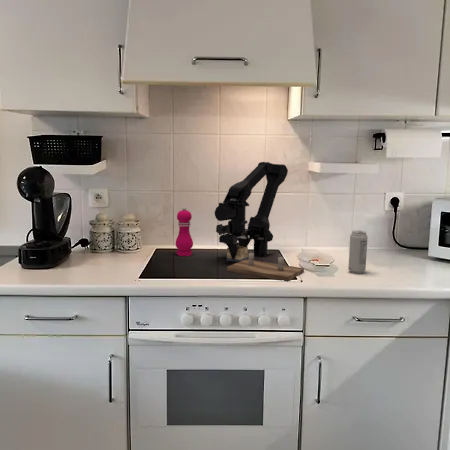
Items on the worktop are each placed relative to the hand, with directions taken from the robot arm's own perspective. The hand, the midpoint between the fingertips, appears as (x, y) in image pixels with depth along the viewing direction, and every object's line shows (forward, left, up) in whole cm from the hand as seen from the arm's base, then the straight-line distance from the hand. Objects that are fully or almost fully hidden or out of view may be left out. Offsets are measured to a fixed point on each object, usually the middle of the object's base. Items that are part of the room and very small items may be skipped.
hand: (237, 257), depth 194 cm
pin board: (+9, +17, -1) cm, 19 cm away
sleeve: (0, 0, -1) cm, 1 cm away
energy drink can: (-9, +45, -1) cm, 46 cm away
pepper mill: (+4, -23, -1) cm, 23 cm away
